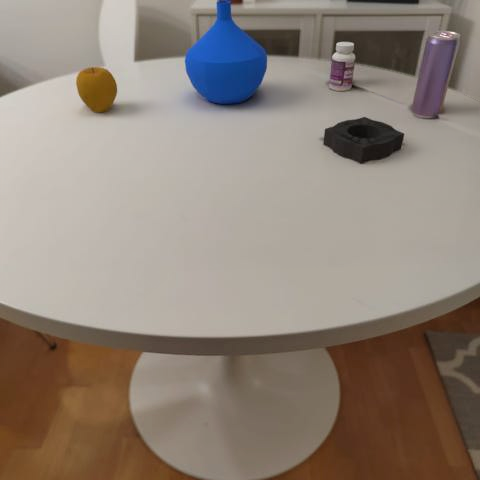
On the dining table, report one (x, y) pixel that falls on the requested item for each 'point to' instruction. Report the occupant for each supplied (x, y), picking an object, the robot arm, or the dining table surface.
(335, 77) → the pill bottle
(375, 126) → the dock pad
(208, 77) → the vase
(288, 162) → the dining table surface
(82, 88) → the apple
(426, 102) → the beverage can
